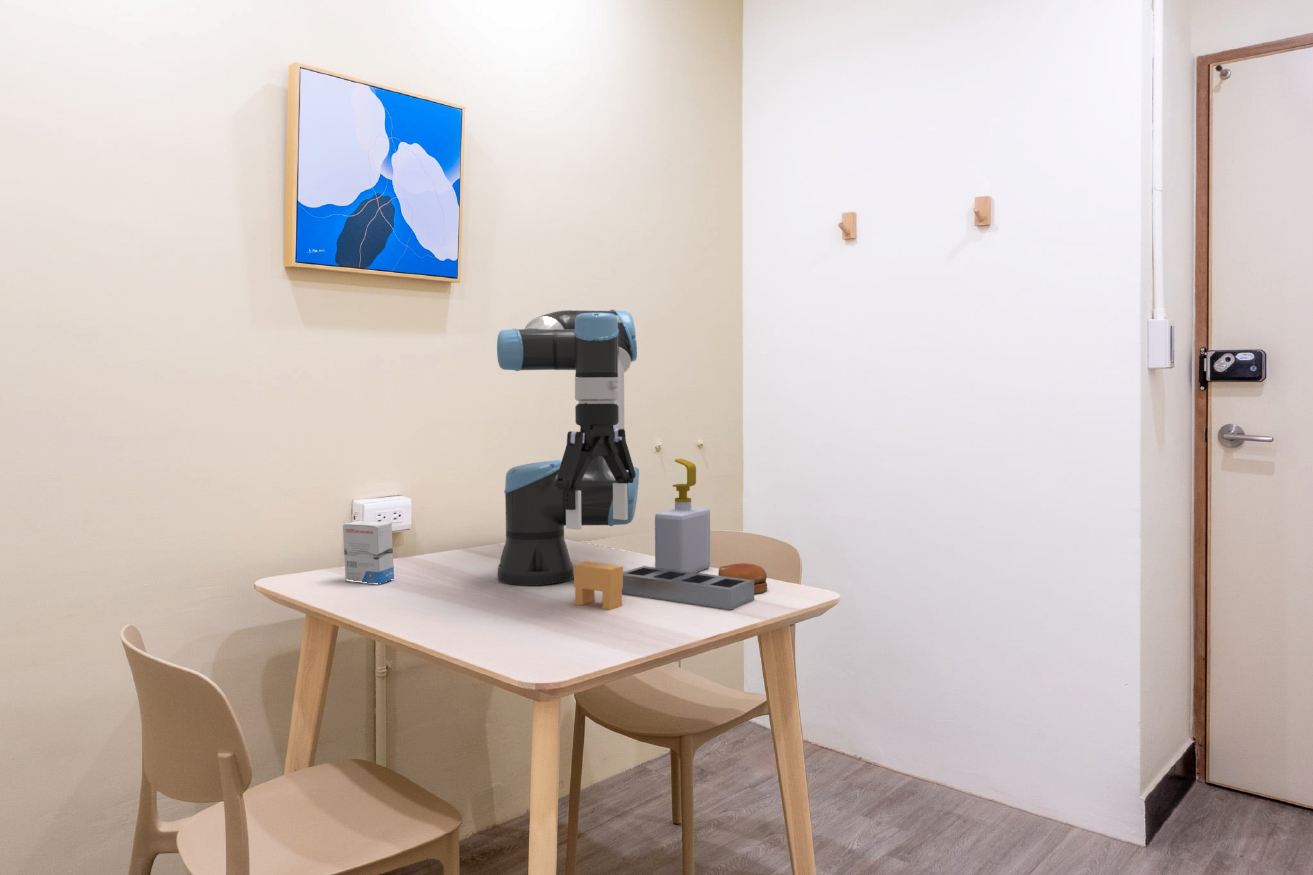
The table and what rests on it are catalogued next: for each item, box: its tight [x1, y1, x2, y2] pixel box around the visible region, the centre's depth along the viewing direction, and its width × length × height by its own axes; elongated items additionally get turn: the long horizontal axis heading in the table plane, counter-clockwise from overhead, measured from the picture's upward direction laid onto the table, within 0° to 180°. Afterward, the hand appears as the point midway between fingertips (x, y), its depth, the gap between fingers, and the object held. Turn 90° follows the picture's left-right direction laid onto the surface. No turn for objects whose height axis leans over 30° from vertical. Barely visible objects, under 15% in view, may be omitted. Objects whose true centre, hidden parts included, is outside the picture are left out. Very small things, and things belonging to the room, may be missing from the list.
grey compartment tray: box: [622, 565, 755, 611], centre depth 163 cm, size 24×9×4 cm, turn 57°
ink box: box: [342, 520, 395, 585], centre depth 176 cm, size 9×5×12 cm, turn 68°
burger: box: [717, 562, 768, 594], centre depth 168 cm, size 10×9×5 cm
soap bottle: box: [654, 458, 711, 573], centre depth 184 cm, size 12×7×23 cm, turn 147°
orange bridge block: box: [573, 561, 624, 610], centre depth 156 cm, size 8×4×7 cm, turn 57°
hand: (597, 524), depth 155 cm, fingers open, 13 cm apart
